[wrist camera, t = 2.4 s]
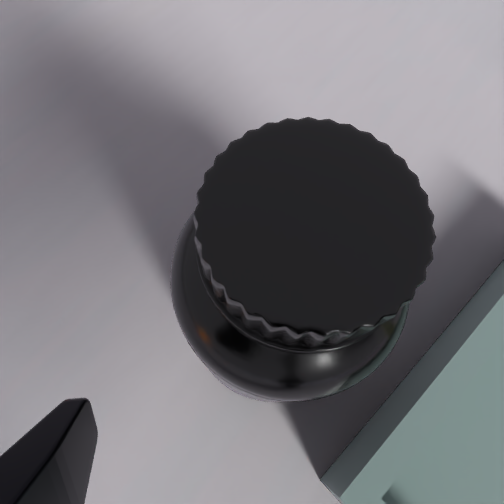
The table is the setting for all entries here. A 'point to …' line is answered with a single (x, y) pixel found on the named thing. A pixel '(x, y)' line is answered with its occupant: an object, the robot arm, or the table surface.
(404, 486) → the tray
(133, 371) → the table surface
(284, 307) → the supplement bottle
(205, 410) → the table surface
